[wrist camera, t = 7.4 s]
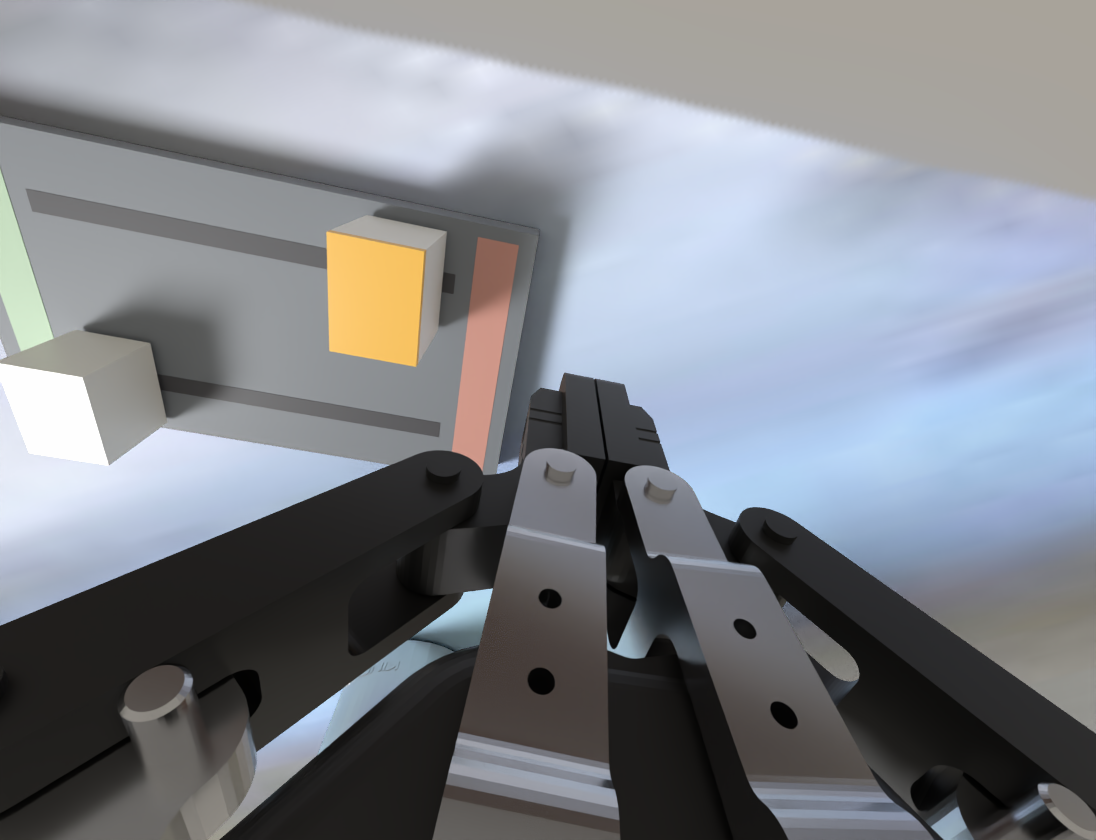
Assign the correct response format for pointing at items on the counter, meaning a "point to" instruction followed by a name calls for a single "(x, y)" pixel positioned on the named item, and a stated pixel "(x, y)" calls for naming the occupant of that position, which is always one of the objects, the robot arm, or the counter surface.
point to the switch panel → (252, 296)
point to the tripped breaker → (384, 288)
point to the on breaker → (84, 396)
